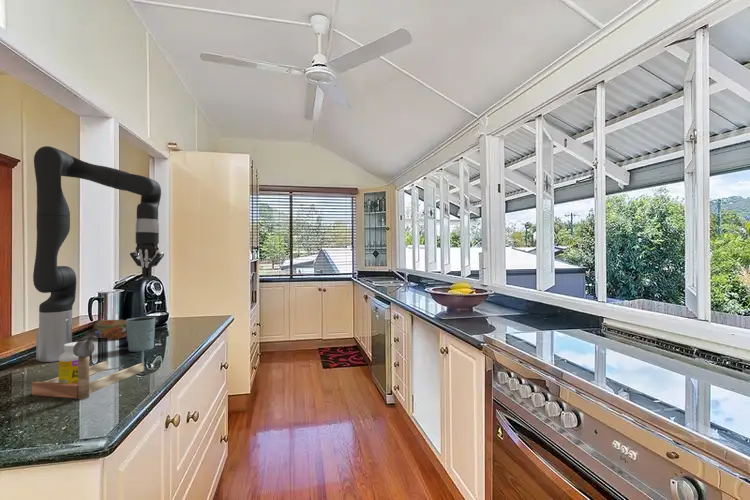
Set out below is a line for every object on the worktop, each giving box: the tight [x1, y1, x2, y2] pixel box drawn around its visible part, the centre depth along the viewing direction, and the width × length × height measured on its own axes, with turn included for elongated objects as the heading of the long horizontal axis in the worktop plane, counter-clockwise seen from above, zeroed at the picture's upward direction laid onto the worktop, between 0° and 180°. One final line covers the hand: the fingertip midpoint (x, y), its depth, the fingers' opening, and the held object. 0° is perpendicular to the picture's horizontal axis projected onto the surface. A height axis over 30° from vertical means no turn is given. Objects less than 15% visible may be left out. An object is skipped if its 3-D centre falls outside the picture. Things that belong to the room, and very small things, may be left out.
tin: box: [92, 319, 127, 340], centre depth 171 cm, size 15×3×8 cm, turn 91°
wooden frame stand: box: [31, 335, 145, 400], centre depth 114 cm, size 25×19×16 cm
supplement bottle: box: [58, 341, 79, 384], centre depth 109 cm, size 7×7×13 cm
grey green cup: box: [125, 316, 156, 353], centre depth 154 cm, size 10×10×12 cm
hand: (146, 277), depth 144 cm, fingers closed
